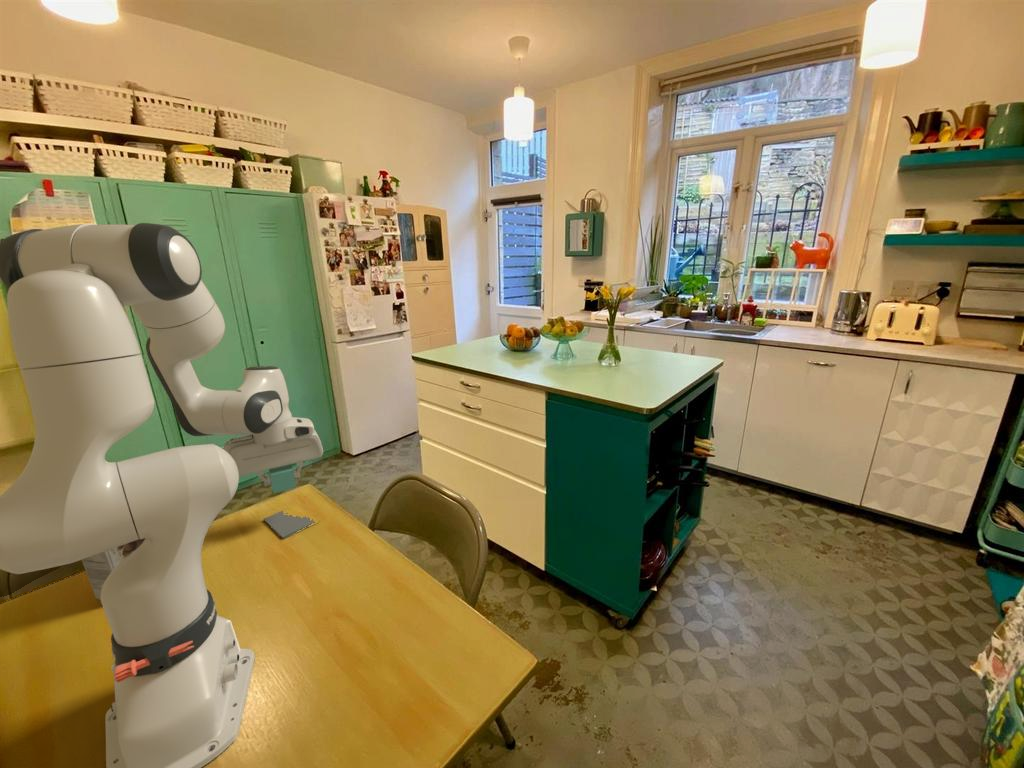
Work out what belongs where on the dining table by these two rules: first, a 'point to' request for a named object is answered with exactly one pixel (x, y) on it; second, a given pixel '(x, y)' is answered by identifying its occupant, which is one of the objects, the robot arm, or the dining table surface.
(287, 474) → the teal cube
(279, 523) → the mat
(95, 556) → the coffee box
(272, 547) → the dining table surface
